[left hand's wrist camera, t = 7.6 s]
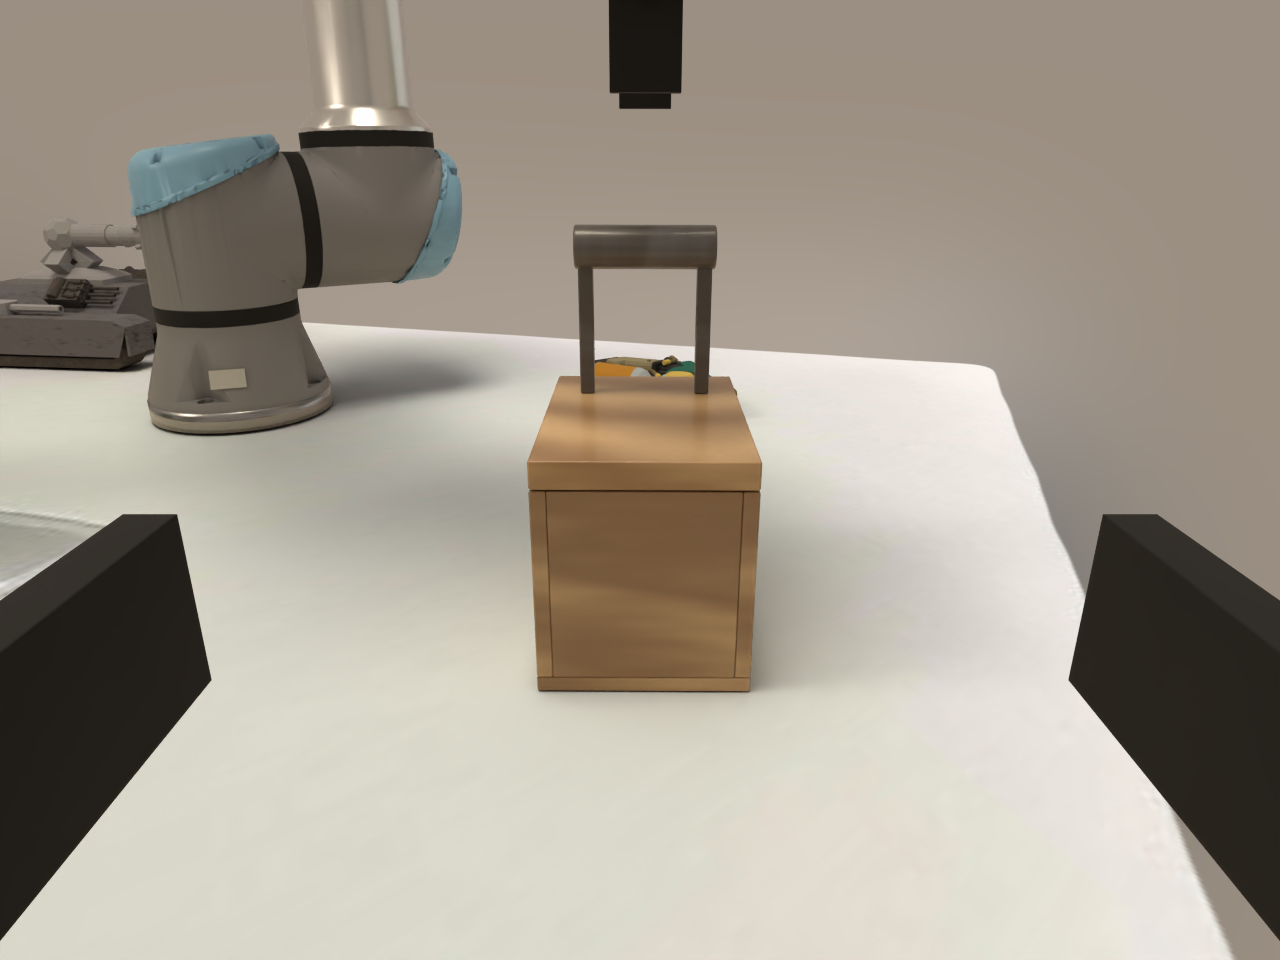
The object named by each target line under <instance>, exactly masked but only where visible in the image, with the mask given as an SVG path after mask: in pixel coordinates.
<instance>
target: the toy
mask: <svg viewBox="0 0 1280 960" xmlns="http://www.w3.org/2000/svg"><path fill="white" fill-rule="evenodd" d="M43 235H44V240H45V242H46V243H47V244H48V245H49V246H50V247H51V248H52V250H51V251H50V252H49V253H48V254H47V255H46V256H45V257H44V258H43V259H42V260H41V262H42V263H43V264H44V265H45V266H47V267H48V268H43V269H40V270H37V271H34V272H31V273H28V274H25V275H23V276H21V277H20V278H18V279H12V280H6V281H1V282H0V366H25V367H60V368H94V369H120V368H123V367H126V366H129V365H131V364H134V363H137V362H140V361H142V360H143V359H144V357H145V354H146V351H149V350H152V349H155V344H154V339H153V336H157V327H156V321H155V316H154V310H153V306H152V301H151V296H150V290H149V285H148V279H147V274H146V269H142V270H134V269H133V268H132V267H130V266H128V267H126V268H125V269H119V270H118V269H113V268H109V267H104V266H98V265H99V264H100V263H101V262H102V261H103V260H102V259H101V258H99V257H98V256H97V255H95V254H94V253H93V252H91V251H90V250H89V249H87V248H86V247H116V246H125V247H132V246H135V248H136V249H142V247H141V242H140V237H139V231H138V226H137V225H132V226H128V225H122V226H113V225H110V224H78V223H77V222H76V221H74V220H70V219H67V218H63V217H59V218H56V219H53V220H51V221H49V222H47V224H46V226H45V227H44V231H43Z"/></svg>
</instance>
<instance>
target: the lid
mask: <svg viewBox="0 0 1280 960" xmlns="http://www.w3.org/2000/svg"><path fill="white" fill-rule="evenodd" d="M573 254H574V266H575V268H576V269H578V289H579V333H580V376H560V377H559V379H558V382H557V385H556V387H555V390H554V393H553V395H552V398H551V401H550V403H549V406H548V409H547V411H546V414H545V417H544V419H543V422H542V425H541V427H540V430H539V433H538V435H537V438H536V441H535V443H534V446H533V449H532V451H531V454H530V457H529V459H528V462H527V469H528V488H529V489H530V490H728V491H759V490H760V489H761V476H762V462H761V459H760V456H759V454H758V451H757V449H756V446H755V443H754V441H753V438H752V435H751V433H750V430H749V427H748V425H747V422H746V419H745V417H744V414H743V411H742V409H741V406H740V404H739V401H738V398H737V396H736V393H735V390H734V388H733V385H732V382H731V380H730V377H709V354H710V322H711V290H712V269H715V267H716V259H717V228H716V226H715V225H575V226H574V232H573ZM593 269H697V290H696V330H695V370H694V377H651V376H595V354H594V296H593Z"/></svg>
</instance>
